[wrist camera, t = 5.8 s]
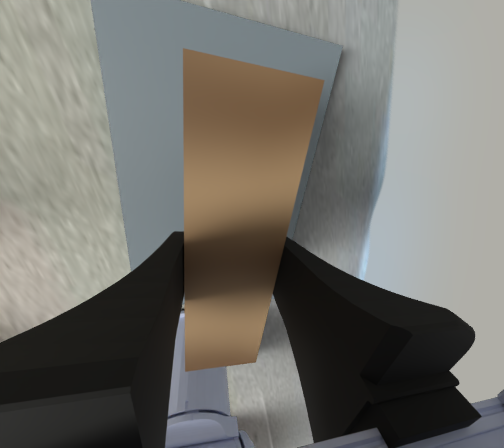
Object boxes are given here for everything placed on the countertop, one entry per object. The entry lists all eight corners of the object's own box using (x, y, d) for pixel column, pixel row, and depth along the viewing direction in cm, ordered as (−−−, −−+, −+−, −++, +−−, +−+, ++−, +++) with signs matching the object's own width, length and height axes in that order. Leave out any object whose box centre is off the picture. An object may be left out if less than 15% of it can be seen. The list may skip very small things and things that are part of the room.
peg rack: (273, 290, 24) (284, 318, 21) (139, 297, 20) (127, 331, 17) (332, 50, 14) (370, 32, 11) (98, -13, 11) (53, -67, 8)
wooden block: (242, 297, 17) (255, 362, 12) (190, 300, 16) (184, 371, 11) (274, 94, 10) (324, 80, 6) (192, 78, 9) (182, 47, 5)
